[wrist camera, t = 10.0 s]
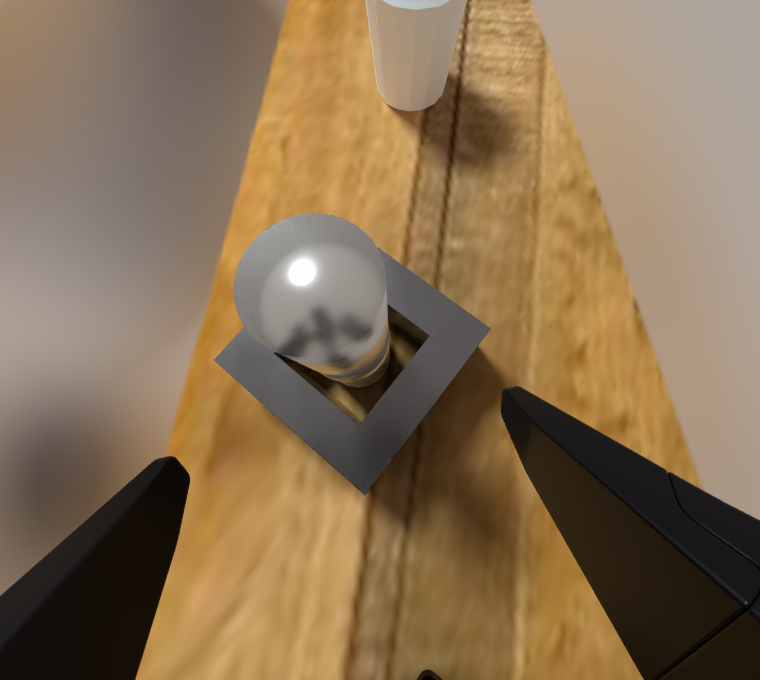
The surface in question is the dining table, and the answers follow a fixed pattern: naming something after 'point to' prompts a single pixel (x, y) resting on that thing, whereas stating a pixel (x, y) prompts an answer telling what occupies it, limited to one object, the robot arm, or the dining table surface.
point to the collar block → (397, 405)
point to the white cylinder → (413, 48)
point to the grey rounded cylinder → (317, 297)
